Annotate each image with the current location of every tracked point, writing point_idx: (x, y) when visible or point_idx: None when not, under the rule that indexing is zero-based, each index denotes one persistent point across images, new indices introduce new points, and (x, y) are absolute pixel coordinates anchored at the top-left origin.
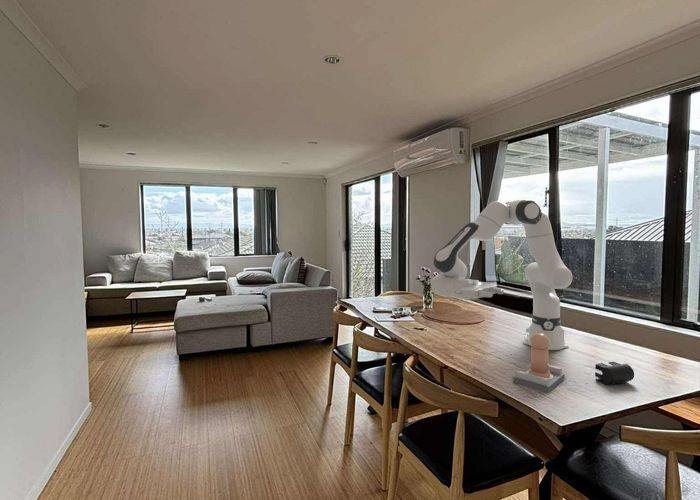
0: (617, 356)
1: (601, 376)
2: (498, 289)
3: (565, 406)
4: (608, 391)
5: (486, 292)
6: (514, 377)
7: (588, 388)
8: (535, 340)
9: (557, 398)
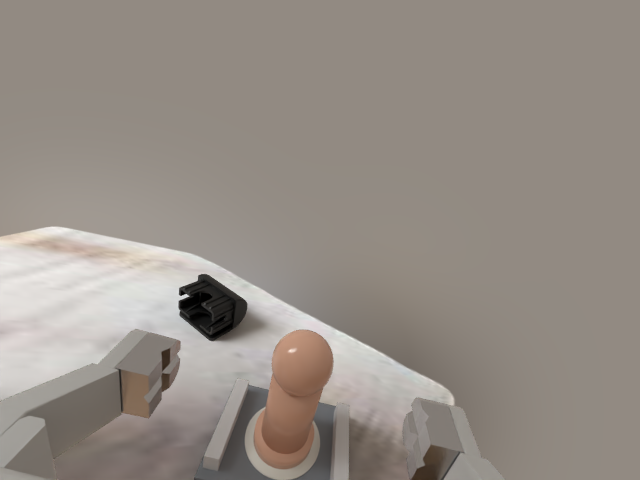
0: (7, 292)
1: (227, 323)
2: (150, 367)
3: (384, 388)
4: (263, 329)
5: (483, 458)
6: None
7: (267, 353)
8: (332, 364)
9: (360, 401)
